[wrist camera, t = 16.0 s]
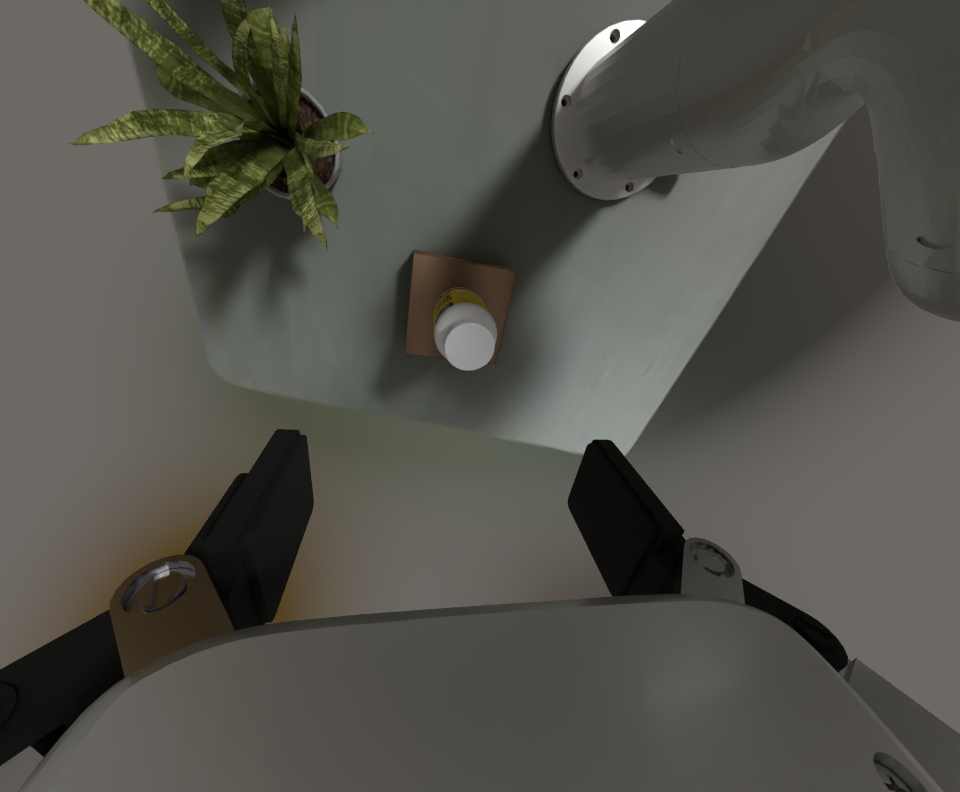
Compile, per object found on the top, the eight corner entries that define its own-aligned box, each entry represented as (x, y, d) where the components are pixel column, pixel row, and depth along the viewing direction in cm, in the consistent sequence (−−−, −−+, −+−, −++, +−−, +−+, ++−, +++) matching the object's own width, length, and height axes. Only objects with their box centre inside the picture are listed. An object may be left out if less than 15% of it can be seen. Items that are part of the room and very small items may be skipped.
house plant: (185, -12, 24) (-151, -318, 10) (389, 41, 27) (353, -139, 13) (225, 216, 31) (59, 227, 17) (385, 239, 33) (359, 266, 19)
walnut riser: (509, 266, 36) (516, 271, 34) (491, 354, 41) (495, 364, 38) (414, 249, 34) (413, 253, 32) (406, 343, 39) (404, 353, 36)
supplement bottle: (442, 277, 33) (449, 302, 25) (493, 297, 35) (516, 327, 26) (425, 328, 35) (426, 368, 27) (473, 345, 37) (489, 386, 28)
